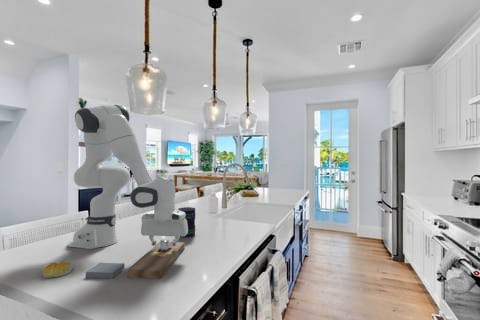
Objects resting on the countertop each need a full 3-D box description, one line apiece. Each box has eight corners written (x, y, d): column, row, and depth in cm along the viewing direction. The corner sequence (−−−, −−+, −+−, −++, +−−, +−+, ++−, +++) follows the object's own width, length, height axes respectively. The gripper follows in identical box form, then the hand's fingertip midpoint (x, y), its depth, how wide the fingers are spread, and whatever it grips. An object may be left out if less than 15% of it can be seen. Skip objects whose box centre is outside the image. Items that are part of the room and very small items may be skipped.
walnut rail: (127, 277, 88) (127, 268, 88) (159, 248, 118) (160, 241, 118) (160, 278, 88) (160, 269, 88) (184, 248, 118) (184, 242, 118)
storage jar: (174, 235, 139) (174, 208, 139) (189, 231, 146) (189, 206, 146) (182, 239, 132) (183, 211, 132) (198, 235, 138) (198, 209, 138)
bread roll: (49, 269, 95) (49, 259, 95) (75, 268, 96) (75, 258, 96) (35, 280, 87) (35, 268, 87) (63, 278, 88) (63, 267, 88)
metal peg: (158, 258, 106) (158, 241, 106) (161, 254, 110) (162, 239, 110) (166, 258, 106) (167, 242, 106) (169, 255, 110) (169, 239, 110)
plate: (85, 277, 88) (85, 271, 88) (99, 267, 96) (99, 262, 96) (112, 278, 88) (112, 272, 88) (124, 268, 96) (124, 263, 96)
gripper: (138, 215, 106) (138, 247, 106) (185, 216, 104) (184, 248, 104) (144, 212, 112) (144, 242, 112) (189, 213, 111) (188, 243, 111)
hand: (164, 245), depth 108 cm, fingers open, 8 cm apart
